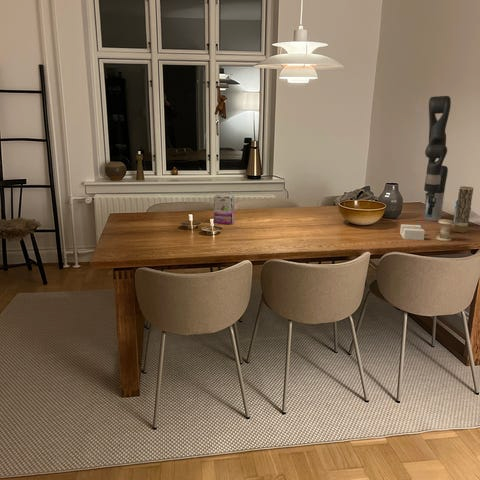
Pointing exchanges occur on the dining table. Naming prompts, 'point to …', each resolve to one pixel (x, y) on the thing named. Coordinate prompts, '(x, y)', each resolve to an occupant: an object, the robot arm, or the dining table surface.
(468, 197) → the bark textured pillar
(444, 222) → the bobbin
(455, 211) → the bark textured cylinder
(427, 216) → the tab peg
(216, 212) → the candy bar box
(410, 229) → the notched board
